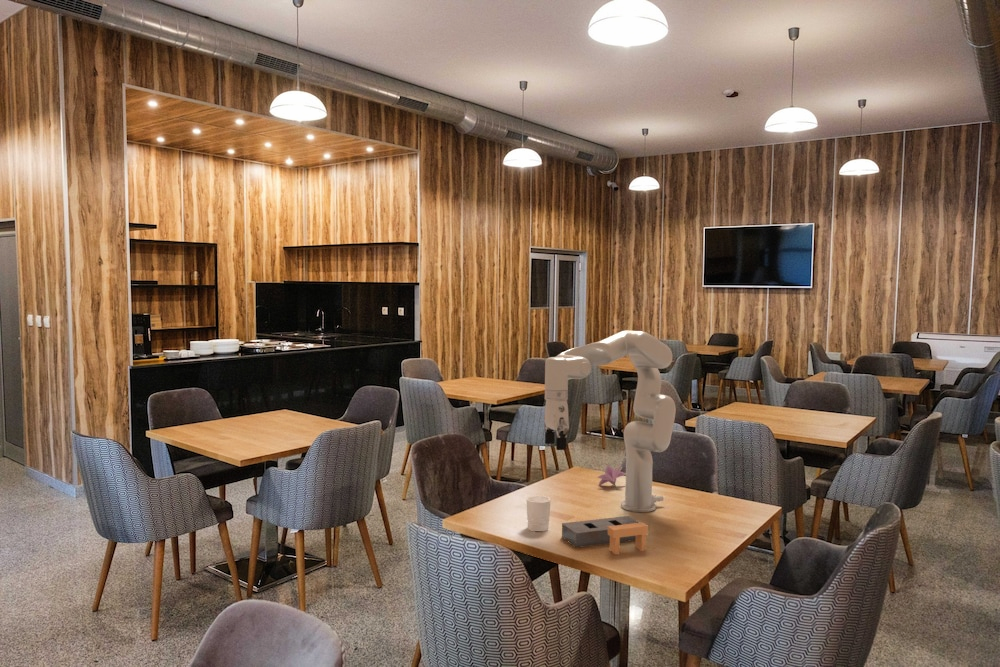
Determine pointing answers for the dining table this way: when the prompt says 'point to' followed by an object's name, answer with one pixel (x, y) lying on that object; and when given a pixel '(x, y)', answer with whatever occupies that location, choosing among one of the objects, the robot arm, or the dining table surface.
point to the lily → (611, 475)
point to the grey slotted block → (594, 531)
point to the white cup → (538, 513)
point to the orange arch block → (628, 530)
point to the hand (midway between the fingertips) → (555, 446)
